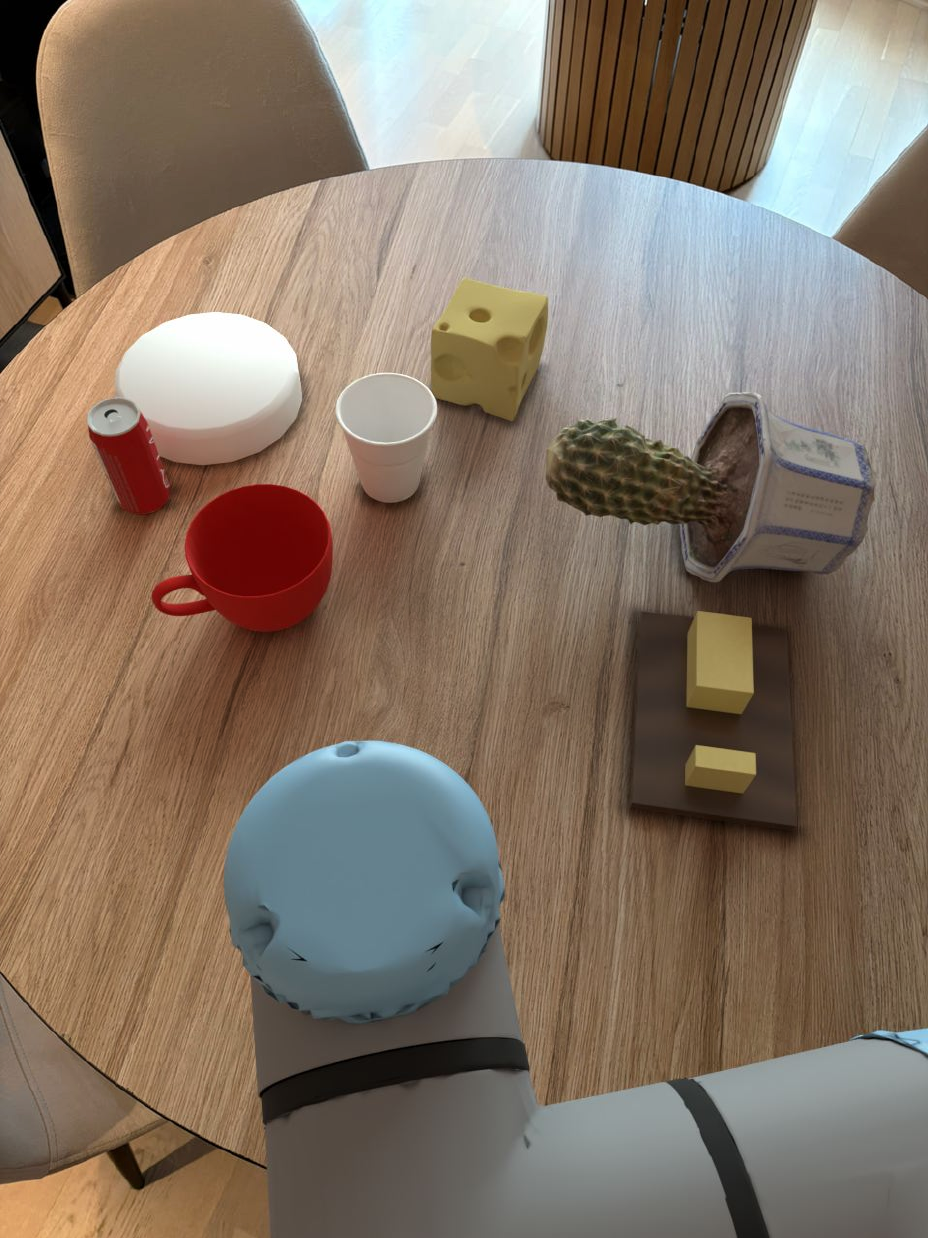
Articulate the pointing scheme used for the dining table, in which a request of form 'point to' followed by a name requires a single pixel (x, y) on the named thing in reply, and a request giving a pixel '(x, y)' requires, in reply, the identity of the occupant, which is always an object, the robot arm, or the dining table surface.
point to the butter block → (719, 662)
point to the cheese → (488, 346)
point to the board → (710, 730)
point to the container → (212, 386)
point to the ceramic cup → (255, 558)
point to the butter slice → (720, 769)
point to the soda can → (128, 455)
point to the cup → (387, 432)
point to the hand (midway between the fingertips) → (402, 1068)
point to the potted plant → (726, 488)
